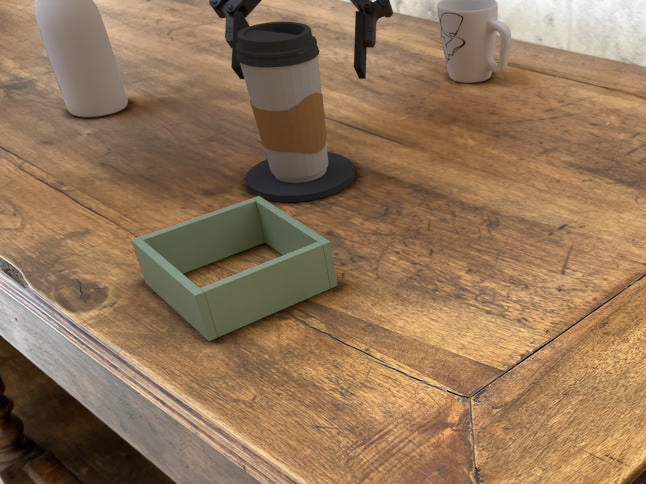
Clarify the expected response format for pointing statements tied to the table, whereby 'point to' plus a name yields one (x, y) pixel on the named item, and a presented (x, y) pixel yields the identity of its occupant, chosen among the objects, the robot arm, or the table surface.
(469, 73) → the mug
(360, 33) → the robot arm
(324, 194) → the slate mat
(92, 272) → the table surface
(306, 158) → the coffee cup
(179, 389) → the table surface
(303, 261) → the frame
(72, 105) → the milk bottle
